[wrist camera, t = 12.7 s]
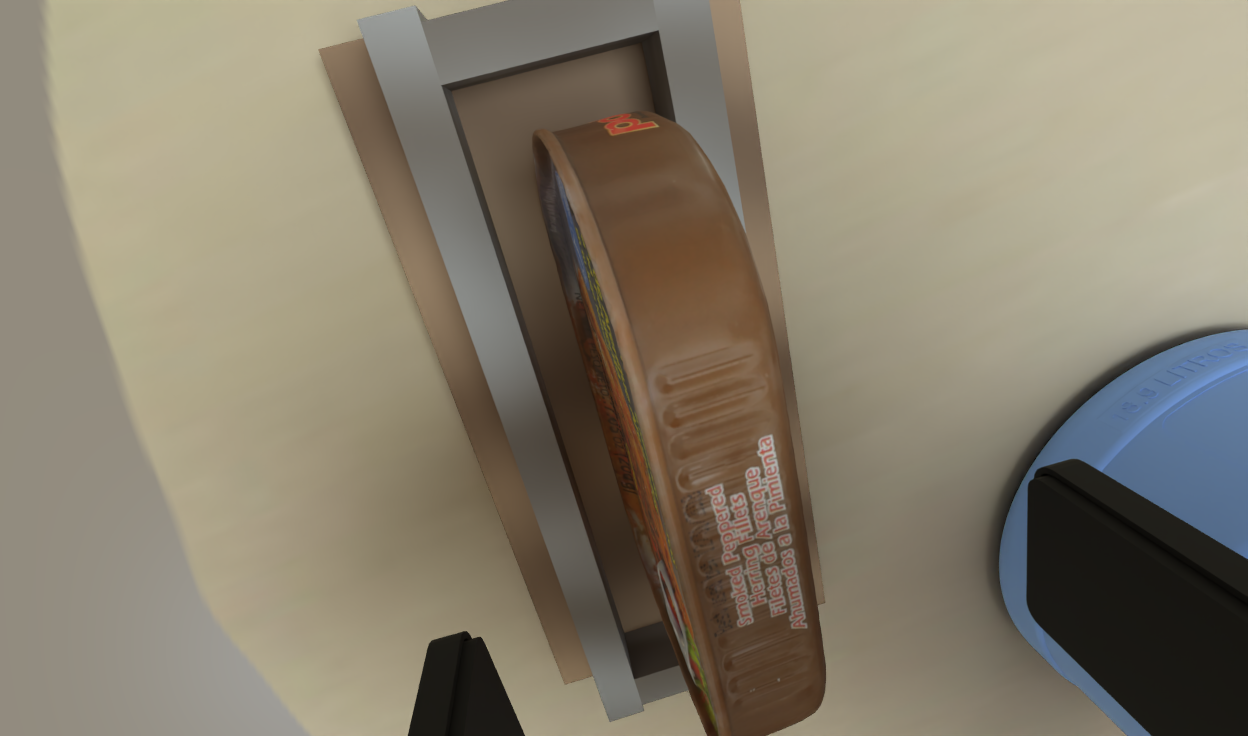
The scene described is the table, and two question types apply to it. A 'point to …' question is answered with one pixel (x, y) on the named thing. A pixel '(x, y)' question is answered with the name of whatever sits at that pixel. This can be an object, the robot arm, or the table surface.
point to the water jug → (1150, 467)
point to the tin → (689, 410)
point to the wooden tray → (548, 269)
